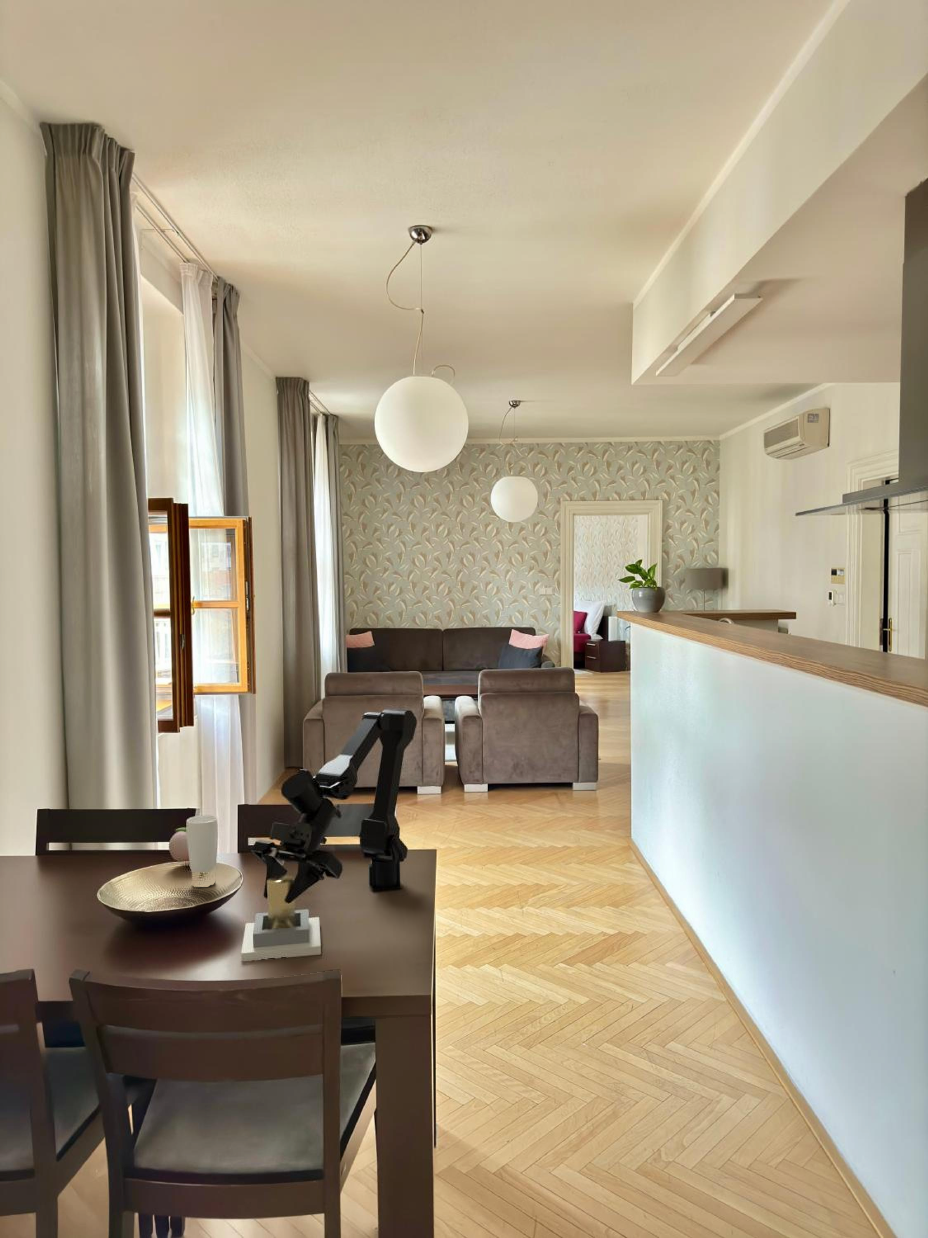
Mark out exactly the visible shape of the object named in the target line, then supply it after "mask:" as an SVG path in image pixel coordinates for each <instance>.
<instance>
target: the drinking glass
mask: <svg viewBox="0 0 928 1238" xmlns="http://www.w3.org/2000/svg"><path fill="white" fill-rule="evenodd" d="M185 824H186V827H185V828H186V834H187V846H188V854H189V862H190V866H189V869H191V870H193V871H195V872H204V871H211V870H213V869H214V868H215V866H216V867H217V857H218V845H219V842H218V841H219V823H218V817H217V816H215V815H211V814H204V815H203V814H202V815H195V816H191V817H189V818H187V819H186V823H185Z"/></svg>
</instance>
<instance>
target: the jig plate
mask: <svg viewBox="0 0 928 1238" xmlns="http://www.w3.org/2000/svg"><path fill="white" fill-rule="evenodd" d="M309 913H310V911H309V908H308V909H307V908H306V909H295V926H296V927H293V928H281V929H270V930H268V912H262V913H261V912H260V913H259V912H258V913H255V916H254V922H248V923H245V926H244V927H245V928H244V933H243V939H242V945H241V953H240V955H241V956H240V957H241V959H240V961H241V962H251V961H252V960H254V961H261V959H265V960H269V959H268V958H275V959H282V958H281V957H286V958H296V957H307V956H315V955H318V956H319V955H321V954H322V953H321V952H322V948H321V947H322V946H321V945H322V944H321V929H320V926H321V925H320V917H319V916H316V917H309ZM252 962H253V961H252Z"/></svg>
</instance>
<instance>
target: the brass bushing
mask: <svg viewBox="0 0 928 1238" xmlns="http://www.w3.org/2000/svg"><path fill="white" fill-rule="evenodd" d="M294 880H295V877H294V876H292V875H288V874H287V875H280V876H274V877H271V878H269V879H268V880H267V898H268V899H267V913H268V930H270V929H281V928H293V927H296V926H295V910H296V899H295V900H293V901H292V902H291V903H287V902H286V898H287V895H288V892H289V890H290V888H291V886H292V884H293V882H294Z"/></svg>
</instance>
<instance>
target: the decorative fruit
mask: <svg viewBox="0 0 928 1238" xmlns="http://www.w3.org/2000/svg"><path fill="white" fill-rule="evenodd" d="M174 832H175V833H174V834H173V835H172V836H171V838H170V840H169V842H168V850H169V854H170V855H171V857H172V858H173V860H175V861H176V860H177V861H176V862H178V861H189V854H188V846H187V834H186V827H179V828H175V831H174Z"/></svg>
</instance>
